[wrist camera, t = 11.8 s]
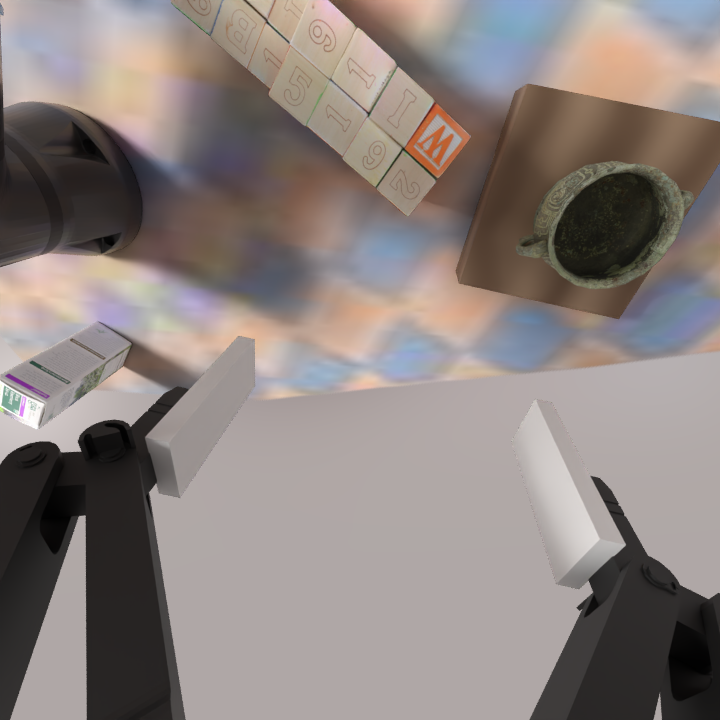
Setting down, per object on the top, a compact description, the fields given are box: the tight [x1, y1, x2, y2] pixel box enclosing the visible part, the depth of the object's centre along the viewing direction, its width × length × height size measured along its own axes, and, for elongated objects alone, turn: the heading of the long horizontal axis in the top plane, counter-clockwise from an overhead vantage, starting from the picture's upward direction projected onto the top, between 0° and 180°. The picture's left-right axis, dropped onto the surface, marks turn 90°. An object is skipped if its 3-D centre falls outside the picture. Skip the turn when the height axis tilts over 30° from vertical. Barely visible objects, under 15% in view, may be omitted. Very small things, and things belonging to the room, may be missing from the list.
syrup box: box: [0, 322, 132, 430], centre depth 46 cm, size 6×6×14 cm
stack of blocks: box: [171, 0, 471, 216], centre depth 27 cm, size 21×6×12 cm, turn 53°
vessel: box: [516, 161, 694, 289], centre depth 28 cm, size 12×9×6 cm
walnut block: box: [456, 84, 720, 319], centre depth 32 cm, size 16×16×5 cm
